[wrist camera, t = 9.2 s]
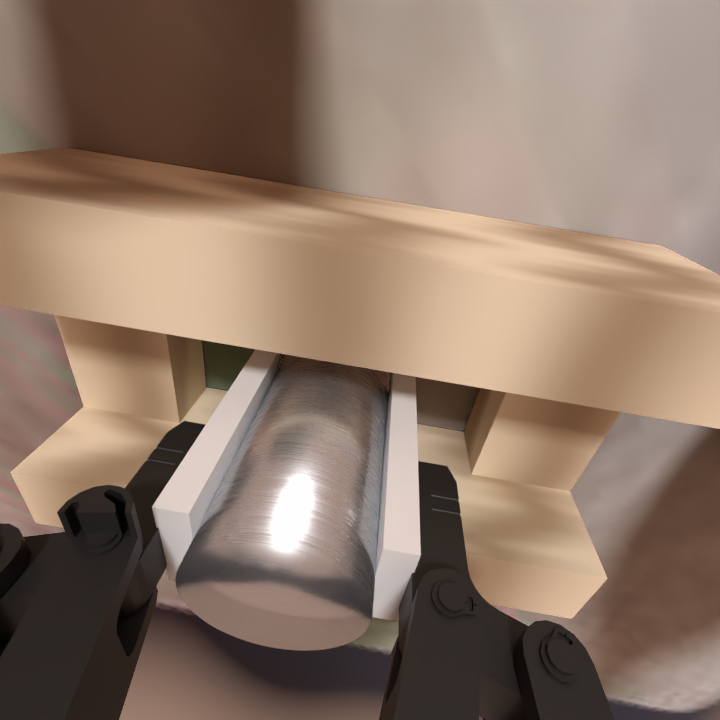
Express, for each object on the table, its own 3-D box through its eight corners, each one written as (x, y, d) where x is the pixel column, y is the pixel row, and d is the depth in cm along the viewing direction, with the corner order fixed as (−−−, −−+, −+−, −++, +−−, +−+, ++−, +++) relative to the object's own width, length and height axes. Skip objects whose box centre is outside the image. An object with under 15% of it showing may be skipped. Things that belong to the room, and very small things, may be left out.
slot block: (131, 417, 20) (36, 522, 15) (68, 147, 13) (-144, 167, 8) (528, 486, 19) (571, 618, 14) (662, 245, 13) (827, 330, 8)
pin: (293, 381, 17) (185, 631, 9) (298, 299, 15) (163, 525, 7) (382, 397, 17) (357, 663, 9) (399, 316, 15) (389, 566, 7)
